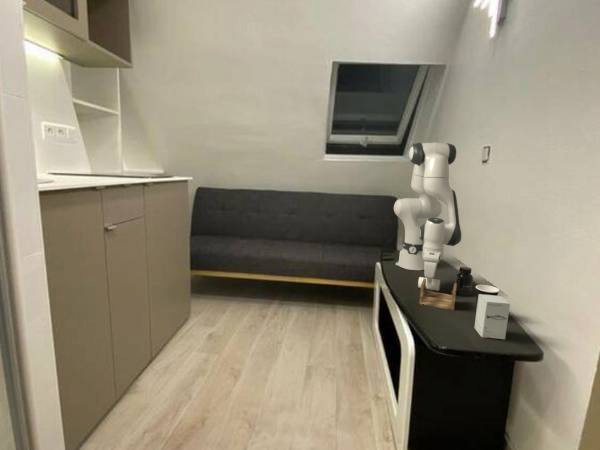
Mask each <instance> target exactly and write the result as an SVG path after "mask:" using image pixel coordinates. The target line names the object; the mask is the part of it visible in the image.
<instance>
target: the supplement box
mask: <svg viewBox="0 0 600 450" xmlns="http://www.w3.org/2000/svg"><path fill="white" fill-rule="evenodd" d="M510 307H511V303H510V302H509V301H508V300H507V299H505V298H504V297H503V296H501V295H498V296H494V295H483V294H479V296H478V304H477V312H476V313H475V320H474V329H475V331H476V332H477V333H478V335H479V336H480V337H481V338H488V339H489V338H490V339H498V340H499V339H500V340H506V334H507V329H508V328H507V327H508V321H509V313H510Z"/></svg>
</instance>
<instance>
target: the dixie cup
mask: <svg viewBox="0 0 600 450" xmlns="http://www.w3.org/2000/svg"><path fill="white" fill-rule="evenodd" d="M475 289H476V290H475V291H476V294H475V295H476V298H475V299H476V300H475V302H476V305H475V306H476V308H475V309H476V310H475V311H476V312H477V304H478V296H479V294H483V295H494V296H499V292H500V289H499V288H498V287H495V286H492V285H487V284H477V285H476V286H475Z"/></svg>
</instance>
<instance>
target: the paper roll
mask: <svg viewBox="0 0 600 450" xmlns="http://www.w3.org/2000/svg"><path fill="white" fill-rule="evenodd" d="M424 278H425V277H422V276H419V277H418V282H417V287H418V289H419V288H420V289H421V284H422V281H423V279H424ZM425 279H426V290H430V291H435V292H436V291H437V292H439V291H440V288H441V279H435V278H433V279H432V284H431V287H430V286H427V278H425Z"/></svg>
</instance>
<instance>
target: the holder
mask: <svg viewBox="0 0 600 450" xmlns="http://www.w3.org/2000/svg"><path fill="white" fill-rule="evenodd" d="M423 278H424V279H423V281H422V284H421V288H420V291H419V292H420V293H419V303H418V304H419V305H423V304H424V306H430V307H435V308H440V309H445V310H451V311H455V304H456V303H455V302H456V295H457V294H456V287H457V283H455V282H454V283H453V289H452V290H451V294H448V293H441V292H436V291H431V290H430V291H429V290H427V289H426V279H425V277H423Z"/></svg>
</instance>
